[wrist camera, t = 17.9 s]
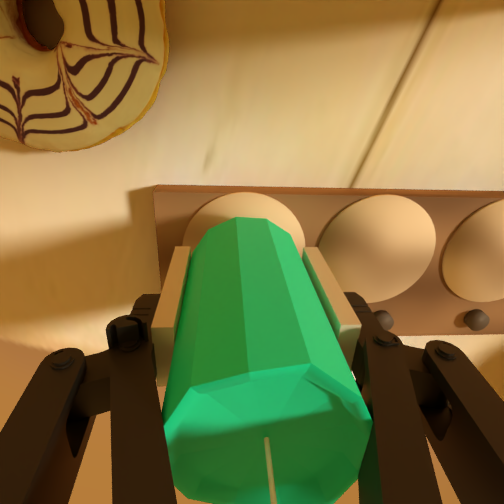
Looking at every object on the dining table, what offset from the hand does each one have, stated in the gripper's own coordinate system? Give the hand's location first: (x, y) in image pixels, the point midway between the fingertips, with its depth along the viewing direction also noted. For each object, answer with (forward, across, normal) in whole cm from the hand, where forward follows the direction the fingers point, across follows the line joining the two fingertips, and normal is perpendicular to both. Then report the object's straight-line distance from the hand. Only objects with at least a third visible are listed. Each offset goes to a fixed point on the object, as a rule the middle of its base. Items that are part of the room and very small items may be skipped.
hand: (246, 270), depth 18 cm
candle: (+1, 0, 0) cm, 1 cm away
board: (+4, +8, -2) cm, 9 cm away
